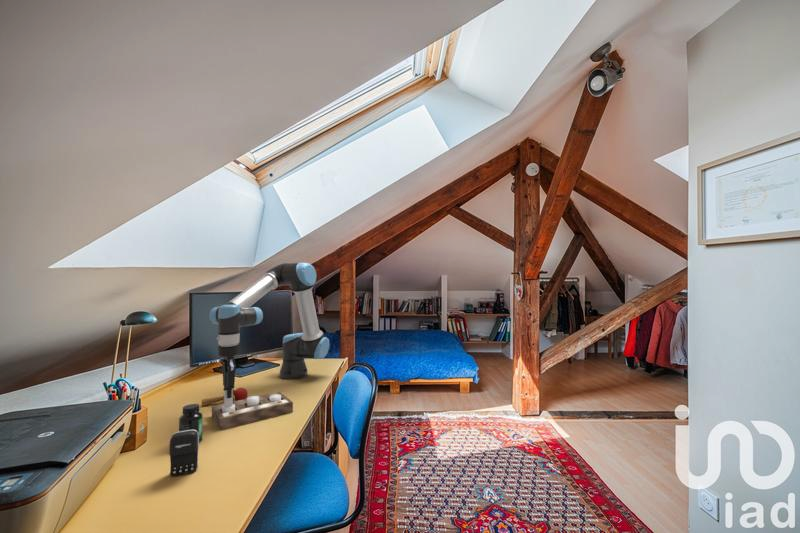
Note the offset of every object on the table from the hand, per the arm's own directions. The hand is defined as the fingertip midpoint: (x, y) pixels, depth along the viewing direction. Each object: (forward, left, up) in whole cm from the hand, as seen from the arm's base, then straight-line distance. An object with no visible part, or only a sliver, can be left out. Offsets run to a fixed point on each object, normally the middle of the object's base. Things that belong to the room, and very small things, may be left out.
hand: (228, 405), depth 134 cm
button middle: (-9, 0, -4) cm, 10 cm away
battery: (+18, +32, -6) cm, 37 cm away
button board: (-9, 0, -6) cm, 11 cm away
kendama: (-3, -20, -6) cm, 21 cm away
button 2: (-18, 0, -5) cm, 19 cm away
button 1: (0, 0, -5) cm, 5 cm away
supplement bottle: (+14, +12, -6) cm, 19 cm away
